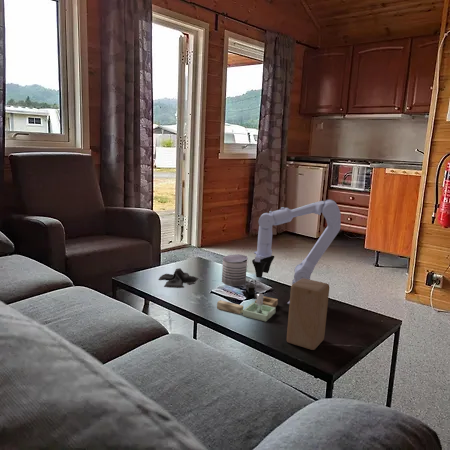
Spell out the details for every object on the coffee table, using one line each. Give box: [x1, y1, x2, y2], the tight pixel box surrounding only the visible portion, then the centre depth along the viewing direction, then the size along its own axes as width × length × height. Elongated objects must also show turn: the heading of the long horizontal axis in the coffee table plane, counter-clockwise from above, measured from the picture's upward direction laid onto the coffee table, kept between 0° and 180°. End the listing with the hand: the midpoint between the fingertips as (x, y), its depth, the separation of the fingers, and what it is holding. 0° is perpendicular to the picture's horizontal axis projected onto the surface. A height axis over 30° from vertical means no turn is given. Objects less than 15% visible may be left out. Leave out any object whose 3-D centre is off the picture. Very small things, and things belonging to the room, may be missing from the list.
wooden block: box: [286, 278, 330, 351], centre depth 136 cm, size 10×10×20 cm
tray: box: [242, 301, 277, 322], centre depth 158 cm, size 9×9×2 cm
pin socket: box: [254, 295, 279, 308], centre depth 167 cm, size 7×7×2 cm
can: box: [221, 253, 248, 287], centre depth 192 cm, size 11×11×12 cm
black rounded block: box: [241, 284, 257, 300], centre depth 178 cm, size 12×7×5 cm, turn 11°
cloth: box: [157, 268, 199, 289], centre depth 192 cm, size 22×19×6 cm
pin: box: [256, 292, 264, 314], centre depth 158 cm, size 2×2×8 cm
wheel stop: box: [216, 299, 244, 315], centre depth 160 cm, size 10×2×3 cm, turn 63°
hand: (262, 274), depth 172 cm, fingers open, 7 cm apart
